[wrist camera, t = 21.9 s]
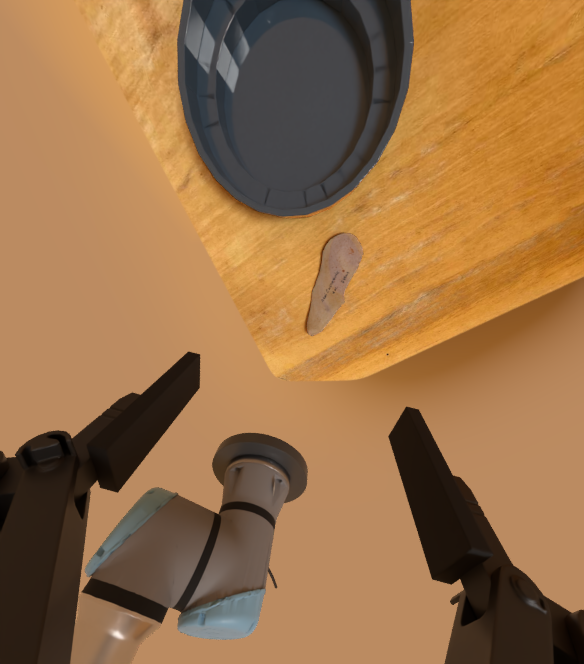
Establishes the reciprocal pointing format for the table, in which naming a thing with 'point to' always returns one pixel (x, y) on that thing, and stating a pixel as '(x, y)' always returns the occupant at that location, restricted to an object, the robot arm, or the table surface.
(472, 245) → the table surface
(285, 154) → the bowl
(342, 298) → the stone tool
